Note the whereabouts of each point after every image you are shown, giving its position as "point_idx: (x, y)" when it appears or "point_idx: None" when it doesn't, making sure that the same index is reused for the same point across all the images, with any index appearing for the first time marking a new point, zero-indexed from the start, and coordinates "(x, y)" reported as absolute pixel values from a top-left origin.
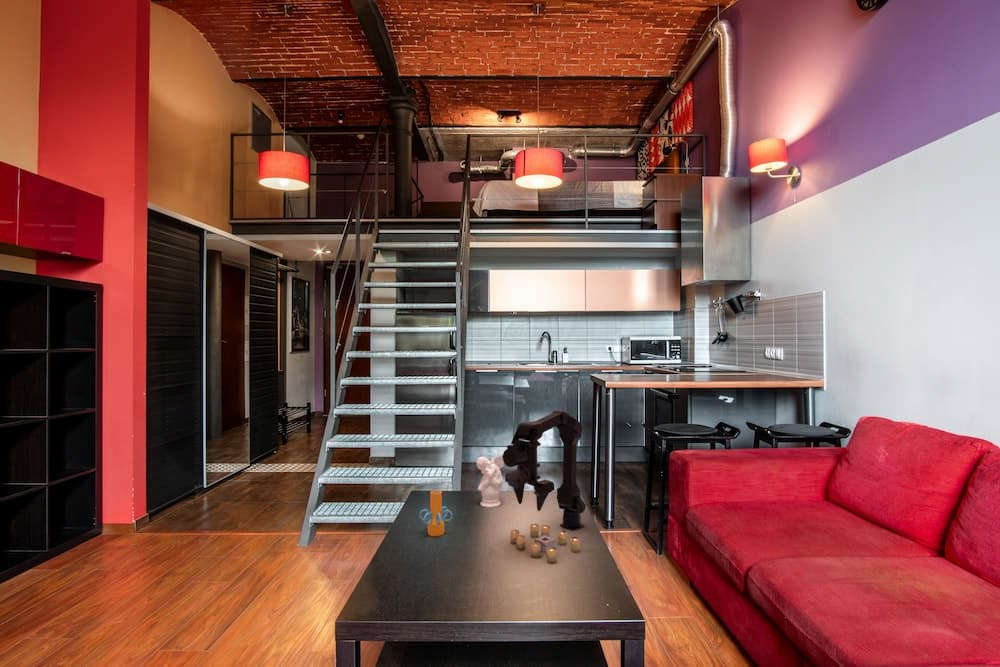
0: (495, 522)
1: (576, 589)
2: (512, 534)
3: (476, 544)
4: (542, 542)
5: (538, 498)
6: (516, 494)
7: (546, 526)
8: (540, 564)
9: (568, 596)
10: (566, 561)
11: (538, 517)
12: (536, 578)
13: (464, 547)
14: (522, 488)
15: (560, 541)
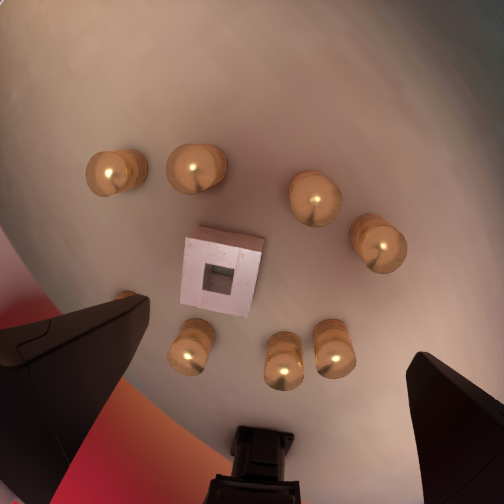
0: (494, 341)
1: (13, 86)
2: (383, 224)
3: (478, 130)
4: (205, 240)
5: (5, 335)
6: (484, 399)
7: (280, 379)
8: (149, 119)
9: (17, 47)
10: (98, 210)
11: (384, 440)
12: (108, 34)
13: (488, 84)
14: (441, 498)
15: (191, 327)
